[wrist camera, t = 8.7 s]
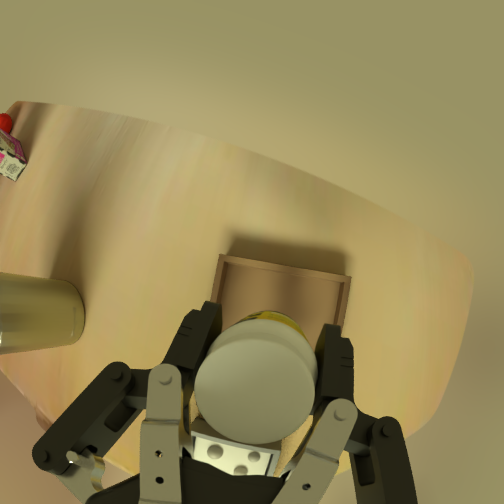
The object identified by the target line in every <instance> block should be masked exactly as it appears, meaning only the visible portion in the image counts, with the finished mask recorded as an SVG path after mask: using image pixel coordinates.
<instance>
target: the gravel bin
mask: <svg viewBox="0 0 504 504" xmlns="http://www.w3.org/2000/svg"><path fill="white" fill-rule="evenodd" d="M191 438H192V442H193V451H194V459H195V460H198V461H202V462H205V463H209V464H211V465H212V466H214V467H216V468H218V469H220V470H222V471H224V472H226V473H228V474H231V475H265V476H271V477H273V474H274V471H275V468H276V465H277V462H278V459H279V456H280V453H281V440H282V439H281V440H278V441H275V442H271V443H265V444H247V443H242V442H238V441H235V440H232V439H229V438H227V437H225V436H223V435H222V434H220V433H219V432H217V431H216V430H214V429H213V428H212V427H211V426H210V425H209V424H208V423H207V422H206V420H205V419H202V418H199V417H196V418H195V420H194V421H193V422H192V424H191Z"/></svg>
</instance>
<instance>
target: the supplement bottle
mask: <svg viewBox="0 0 504 504" xmlns="http://www.w3.org/2000/svg"><path fill="white" fill-rule="evenodd" d="M317 378H318V367H317V361H316V357H315V354H314V352H313V349H312V347H311V346H310V344H309V342H308V340H307V338H306V336H305V334H304V332H303V331H302V329H301V327H300V326H299V325H298V324H297V323H296V322H295V321H294V320H293V319H292V318H290V317H289V316H287V315H285V314H283V313H280V312H277V311H260V312H256V313H253V314H250V315H248V316H246V317H245V318H243V319H241V320H240V321H239V322H237V323H235V324H234V325H232V326H230V327H229V328H228V329H226V330H225V331H223V332H222V333H221V334H220V335H219V336H218V337H217V338H216V339H215V341H214V342H213V343H212V345H211V346H210V348H209V350H208V352H207V355H206V357H205V360H204V361H203V363H202V365H201V366H200V368H199V370H198V373H197V376H196V379H195V386H194V391H195V399H196V403H197V406H198V409H199V411H200V413H201V414H202V416H203V418H204V419H205V420H206V422H207V423H208V424H209V425H210V426H211V427H212V428H213V429H214V430H216V431H217V432H219V433H220V434H222V435H223V436H225V437H227V438H229V439H232V440H235V441H238V442H242V443H247V444H265V443H271V442H275V441H278V440H281V439H283V438H285V437H287V436H289V435H290V434H292V433H293V432H295V431H296V430H297V429H298V428H299V427H300V426H301V425H302V424H303V423H304V422H305V420H306V419H307V418H308V416H309V414H310V412H311V410H312V406H313V402H314V397H315V387H316V383H317Z"/></svg>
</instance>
